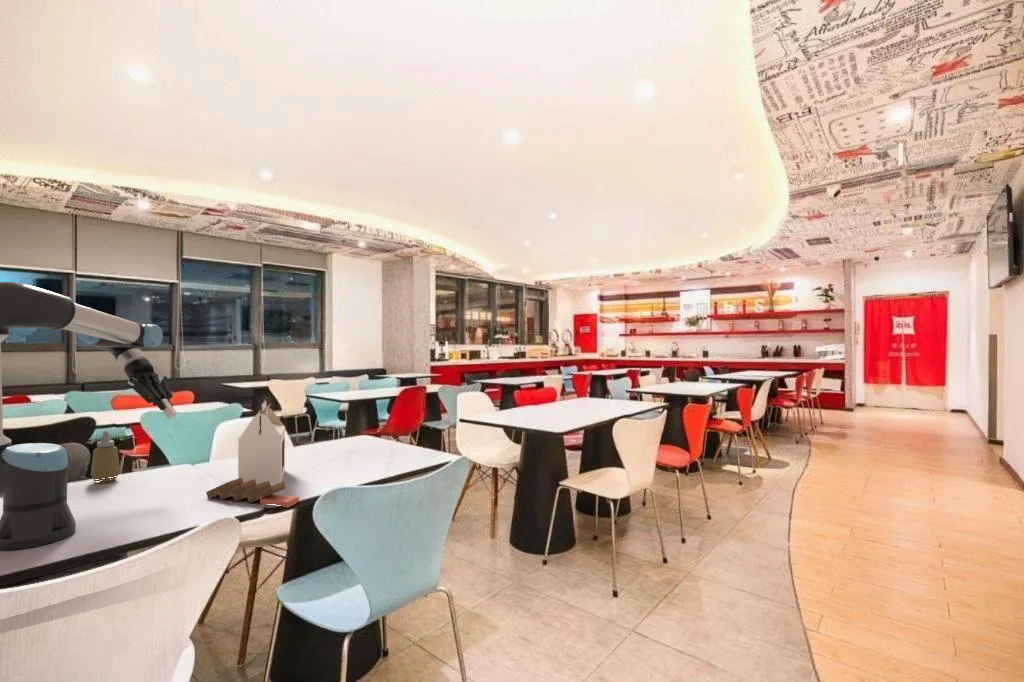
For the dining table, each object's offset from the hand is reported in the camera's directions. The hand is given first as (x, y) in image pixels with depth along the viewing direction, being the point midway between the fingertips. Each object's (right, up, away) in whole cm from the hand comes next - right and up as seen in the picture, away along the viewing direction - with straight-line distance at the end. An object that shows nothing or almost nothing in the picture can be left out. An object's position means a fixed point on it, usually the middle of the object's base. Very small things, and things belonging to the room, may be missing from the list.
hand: (172, 415), depth 163 cm
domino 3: (+27, -24, -8) cm, 37 cm away
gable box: (+23, -26, +15) cm, 37 cm away
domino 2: (+22, -24, -7) cm, 33 cm away
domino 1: (+17, -24, -5) cm, 30 cm away
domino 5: (+37, -25, -10) cm, 45 cm away
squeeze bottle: (-32, -26, +11) cm, 42 cm away
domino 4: (+32, -24, -9) cm, 42 cm away
